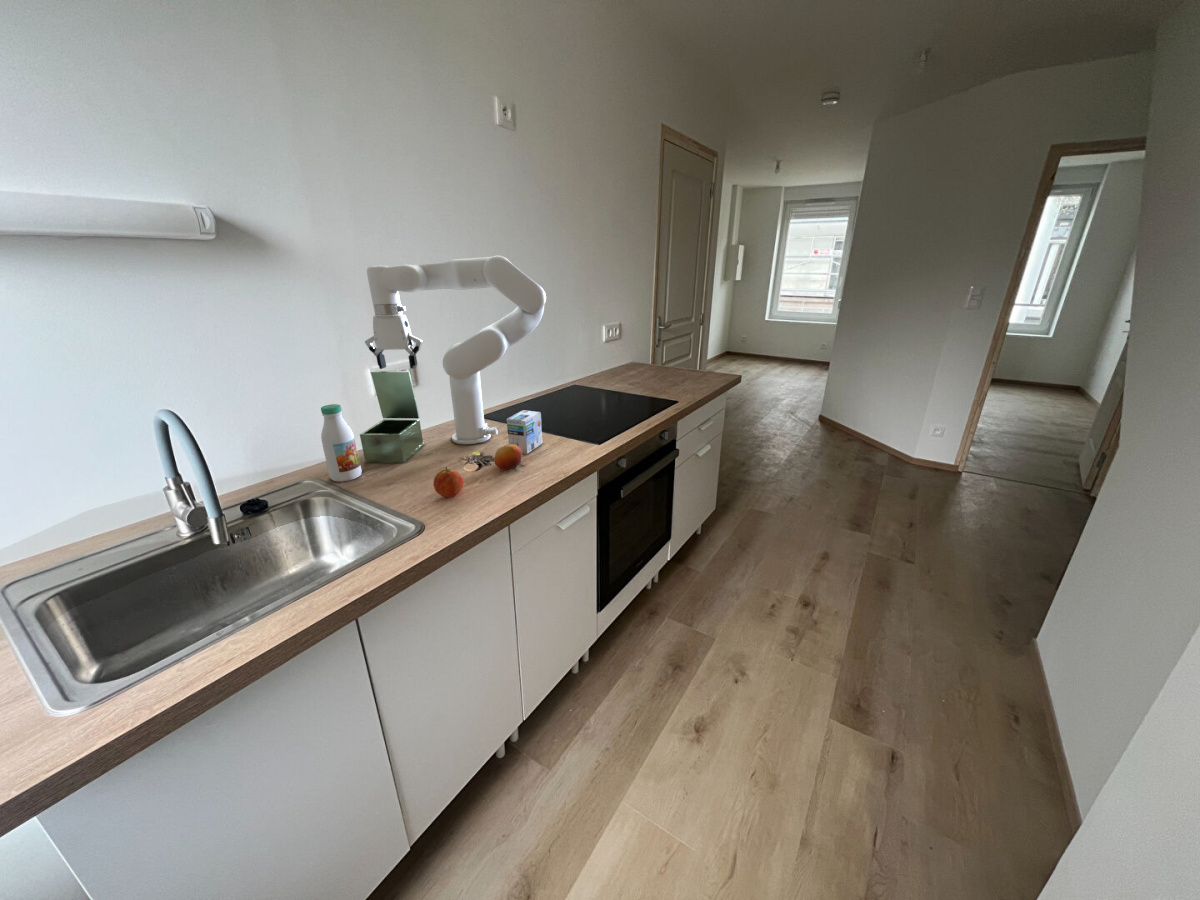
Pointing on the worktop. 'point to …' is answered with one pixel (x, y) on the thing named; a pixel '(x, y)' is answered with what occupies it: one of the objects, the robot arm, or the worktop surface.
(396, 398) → the lid
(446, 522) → the worktop surface
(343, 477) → the milk bottle
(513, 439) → the light bulb box
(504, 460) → the fruit
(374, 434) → the bread bin
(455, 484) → the fruit
